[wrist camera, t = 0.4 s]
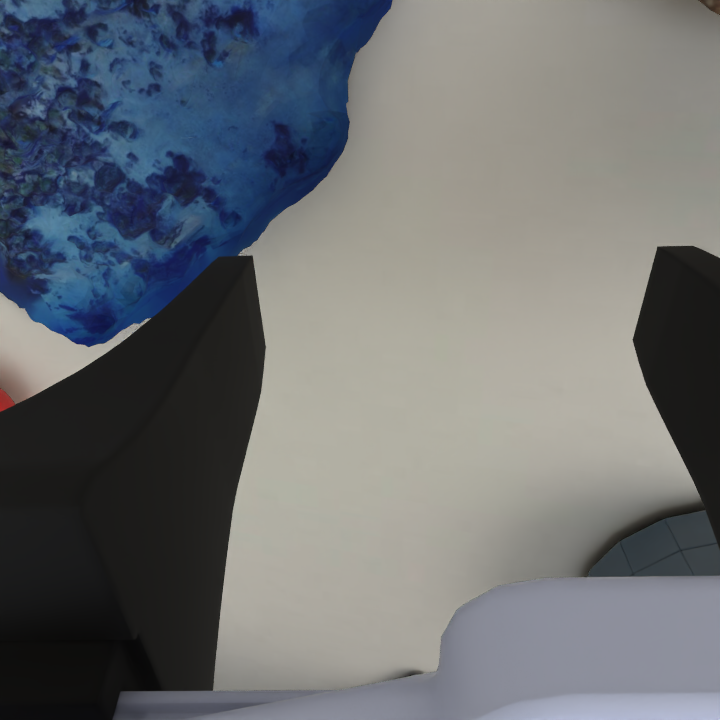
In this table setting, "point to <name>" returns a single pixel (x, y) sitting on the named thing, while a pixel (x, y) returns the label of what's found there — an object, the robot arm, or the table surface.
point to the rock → (158, 142)
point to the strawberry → (5, 401)
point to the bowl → (664, 550)
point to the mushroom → (712, 5)
